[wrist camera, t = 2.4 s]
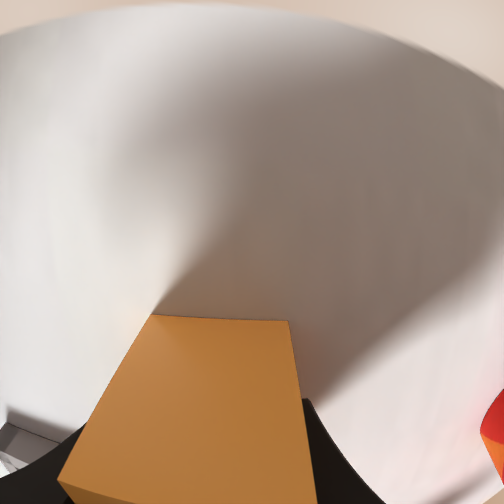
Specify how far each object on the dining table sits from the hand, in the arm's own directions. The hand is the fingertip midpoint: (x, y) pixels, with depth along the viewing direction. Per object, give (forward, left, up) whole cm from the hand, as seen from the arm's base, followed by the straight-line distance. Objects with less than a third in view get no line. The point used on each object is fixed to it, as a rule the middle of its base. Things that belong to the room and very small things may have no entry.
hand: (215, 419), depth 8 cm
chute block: (0, 0, -1) cm, 1 cm away
